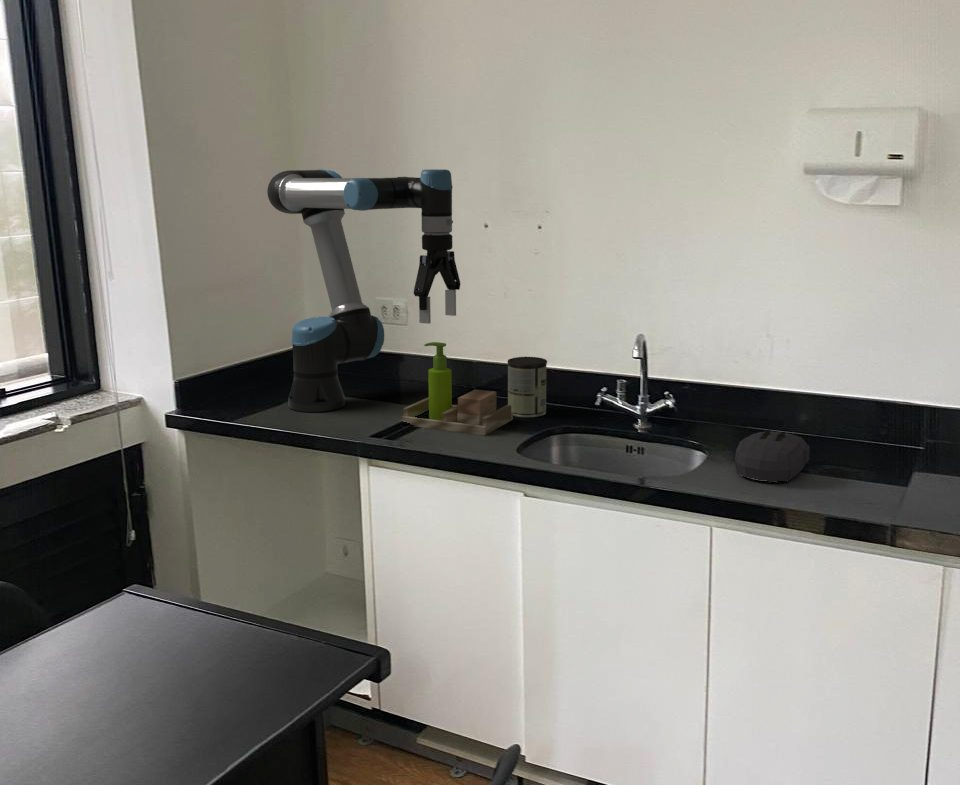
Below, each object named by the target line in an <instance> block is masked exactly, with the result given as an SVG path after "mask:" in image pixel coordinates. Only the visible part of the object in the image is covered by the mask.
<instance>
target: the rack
mask: <svg viewBox="0 0 960 785" xmlns="http://www.w3.org/2000/svg"><path fill="white" fill-rule="evenodd" d="M427 410H429V396H428V397H425V398H423V399H421V400H419V401H416V402H415V403H412V404H410V405H408V406H405V407H403V408H402V414H403V416H401V417H400V418H401V419H400V421H403V422H407V423H410V424H412V425H414V426H413V427H416V428H417V427H418V428H425V429H431V430H441V431H446V432H455V433H461V434H468V435H477V436H486V435H488V434H490V433H492V432H493V431H495V430H497V429H498V428H500V427H502V426H504V425H506V424H508V423H509V422H511V421H513V420H514V416H513V412H511V405H508V404H506V405H504V406H502V407H500V408H498V409H496V411H494V412H492V413H491V414H489V415H487V416H485V417H483V418H482V426H479V425H471V424H463V423H457V413H458V404H452V408H451V409H449V410H447V411H445V412H443V413H442V421H440V420H432V419H429V418H424V417H422V418H417V417H415V416H418V415H420V414H422V413H424V412H425V411H427Z"/></svg>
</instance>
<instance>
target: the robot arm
mask: <svg viewBox="0 0 960 785" xmlns="http://www.w3.org/2000/svg"><path fill="white" fill-rule="evenodd" d="M266 190H267V191H266V193H267V198H268V201H269V203H270V204H271V206H273V208H274V209H275V210H277V211H279V212H281V213H284V214H288V215H290V214H291V215H293V214H295V215H297V214H298V215H301V216H302V220H303V224H305V225H306V226H308V227H309V228H310V229H311V233H312V237H313V241H314V245H315V249H316V254H317V256H318V261H319V265H320V269H321V272H322V276H323V280H324V285H325V288H326V291H327V296H328V299H329V304H330V308H331V312H330V313H329V315H328V316H318V317H309V318H306V319H302V320H300V321H297V322H296V323H295V324H294V325H293V327H292V332H291V344H292V358H293V359H292V361H293V363H292V364H293V365H292V366H293V379H292V380H293V381H292V385H291V388H290V391H289V396H288V398H287V400H288V402H287V403H288V408H289V409H290V410H294V411H296V412H297V411H298V412H306V413H318V412H321V413H322V412H329V411H330V412H331V411H335V410H339V409H341V408H343V407H345V406H346V397H345V394H344V390H343V388H342V385H341V382H340V380H339V376H338V373H339V372H338V365H339V364H340V365H341V364H344V363H345V364H346V363H350V362H356V361H364V360H367V359H371V358H374V357H375V356H377V355H378V354H379V353H380V352H381V351H382V348H383V345H384V343H385V329H384V325H383V323H382V321H381V320H380V319H379V318H378V317H377V316H374V315H372V313H371V309H370V307H369V306H367V305H366V304H364V303H363V300H362V296H361V293H360V289H359V286H358V281H357V278H356V273H355V270H354V269H355V268H354V266H353V261H352V258H351V254H350V250H349V246H348V242H347V238H346V235H345V232H344V227H343V223H342V219H343V218H344V216H345V215H346V214H345V209H346V210H354V211H371V210H373V211H375V210H388V209H389V210H390V209H391V210H392V209H421V215H420V216H421V233H423V234H422V235H421V248H422V250H424V251H426V254H425V255H424V254H423V255H422V254H421V255H420V256H419V265H418V270H417V275H416V279H415V284H414V288H413V295H414V297H418V301H419V302H418V306H419V307H418V308H419V309H418V315H419V317H418V318H419V319H418V320H419V321H418V322H419V324H428V325H429V324H431V315H432V314H431V296H429V294H430V291H431V289H432V286H433V283H434V281H435V278H436V275H438V274H439V273H440V276H441V278H442V280H443V282H444V284H445V287H446V289H445V290H444V298H445V299H444V302H445V304H444V305H445V306H444V308H445V310H444V311H445V313H444V314H445V316H450V317H451V316H452V317H456V316H457V290H458V291H459V290H460V288H461V280H460V276H459V272H458V268H457V264H456V260H455V259H456V258H455V251H454V250H452V249H453V235H452V234H451V233H452V232H453V223H454V220H453V181H452V173H451V171H450V170H448V169H422V170H421V172H420V176H419V177H414V176H413V177H412V176H397V177H342V176H341V175H340V174H339V173H337V172H336V171H334V170H330V169H329V170H328V169H323V168H322V169H321V168H320V169H319V168H318V169H308V170H307V169H305V170H304V169H303V170H302V169H300V170H299V169H297V170H295V169H294V170H293V169H292V170H290V169H289V170H284V171H281V172H279V173H277V174H275V175H274V176H272V178H271V179H270V180H269V183H268V186H267V189H266ZM451 250H452V251H451Z"/></svg>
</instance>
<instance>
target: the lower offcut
mask: <svg viewBox="0 0 960 785" xmlns="http://www.w3.org/2000/svg"><path fill="white" fill-rule="evenodd" d="M496 410H497V407H496V408H494V409H492V410H490V411H488V412H487V413H485V414H483V415H481V416H474V415H466V414H458V413H457V423H463V424H471V425H479V426H482V418H483V417H485V416H487V415H489V414H491V413H492V412H494V411H496Z"/></svg>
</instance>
